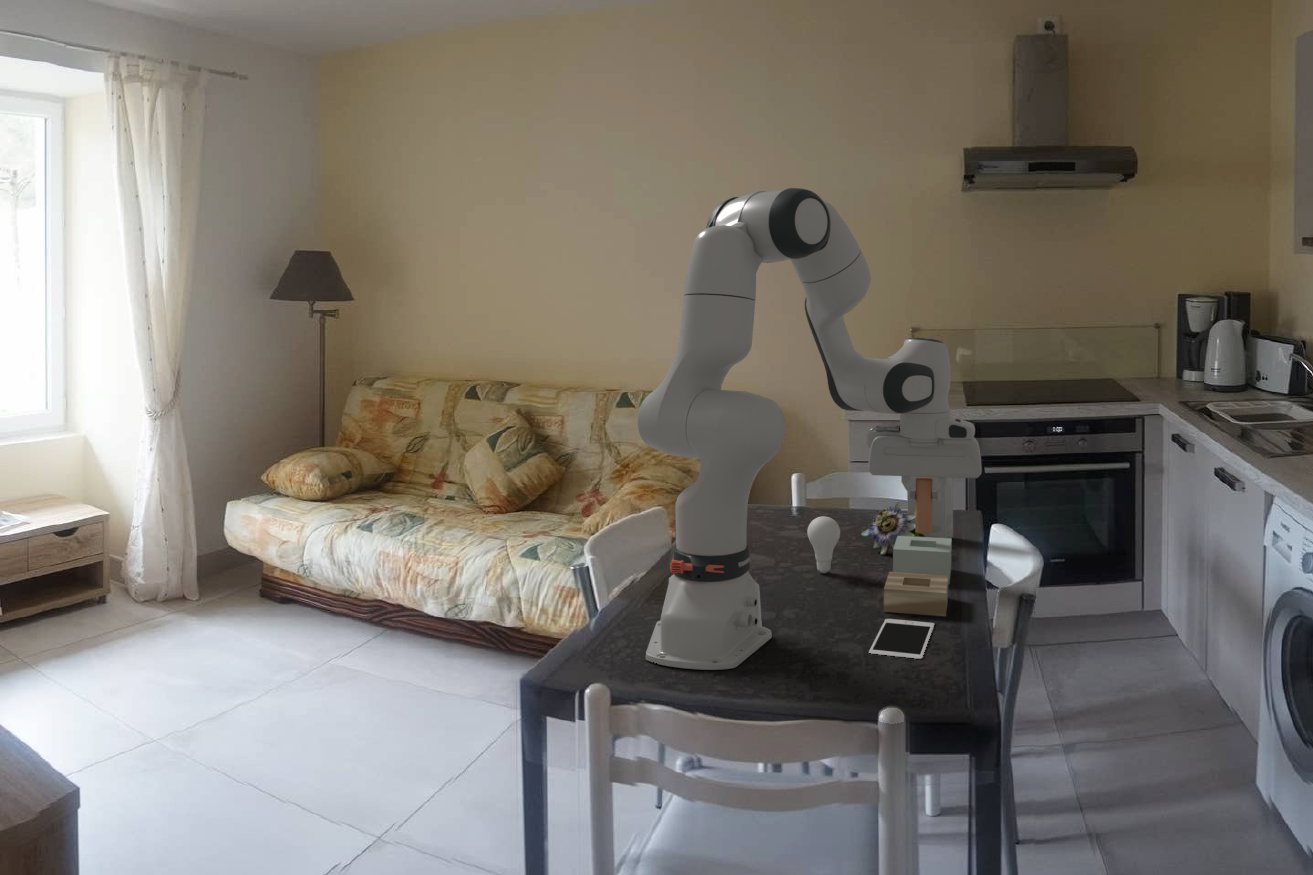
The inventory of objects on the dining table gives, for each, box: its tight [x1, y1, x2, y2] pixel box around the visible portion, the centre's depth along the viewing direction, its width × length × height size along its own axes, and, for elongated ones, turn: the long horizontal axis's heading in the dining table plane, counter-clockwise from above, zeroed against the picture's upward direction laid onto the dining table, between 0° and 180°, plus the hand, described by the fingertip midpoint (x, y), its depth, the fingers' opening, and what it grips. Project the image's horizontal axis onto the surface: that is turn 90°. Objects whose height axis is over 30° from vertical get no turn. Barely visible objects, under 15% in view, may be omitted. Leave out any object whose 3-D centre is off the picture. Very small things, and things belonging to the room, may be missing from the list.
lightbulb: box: [806, 515, 841, 574], centre depth 188 cm, size 6×6×11 cm
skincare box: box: [906, 476, 954, 539], centre depth 210 cm, size 8×7×16 cm
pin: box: [915, 478, 933, 534], centre depth 184 cm, size 3×3×10 cm
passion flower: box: [860, 501, 926, 556], centre depth 202 cm, size 11×11×12 cm
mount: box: [883, 571, 949, 617], centre depth 168 cm, size 10×10×4 cm
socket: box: [892, 536, 952, 585], centre depth 185 cm, size 10×10×6 cm
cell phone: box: [868, 618, 935, 660], centre depth 153 cm, size 8×16×1 cm, turn 158°
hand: (923, 499), depth 184 cm, fingers closed on pin, 3 cm apart
